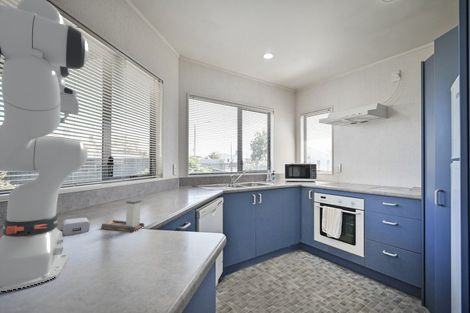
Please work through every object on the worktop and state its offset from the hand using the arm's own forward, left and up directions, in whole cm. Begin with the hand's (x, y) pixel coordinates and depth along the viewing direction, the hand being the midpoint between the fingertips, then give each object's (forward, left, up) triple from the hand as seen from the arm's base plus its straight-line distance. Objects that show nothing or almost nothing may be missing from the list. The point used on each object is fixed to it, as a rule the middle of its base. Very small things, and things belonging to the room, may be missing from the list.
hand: (48, 120), depth 93 cm
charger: (+4, -12, -48) cm, 50 cm away
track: (-5, -30, -48) cm, 56 cm away
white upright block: (-9, -33, -46) cm, 58 cm away
